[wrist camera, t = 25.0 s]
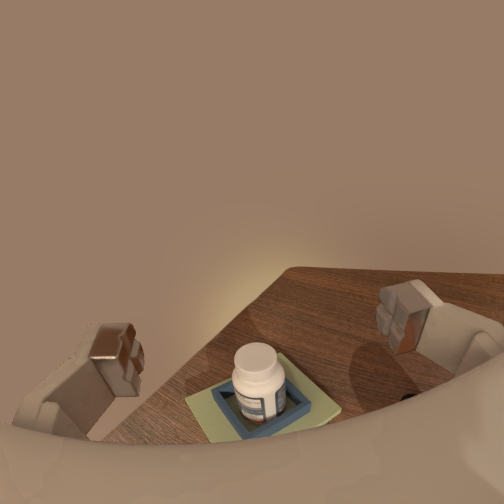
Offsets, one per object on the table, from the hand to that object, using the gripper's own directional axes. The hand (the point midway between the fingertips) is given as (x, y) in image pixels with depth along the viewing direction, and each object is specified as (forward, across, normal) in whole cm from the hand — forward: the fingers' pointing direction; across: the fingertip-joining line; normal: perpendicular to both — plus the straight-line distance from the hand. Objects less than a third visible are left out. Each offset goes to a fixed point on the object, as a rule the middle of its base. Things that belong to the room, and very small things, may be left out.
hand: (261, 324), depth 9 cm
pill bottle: (+12, -1, +23) cm, 26 cm away
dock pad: (+12, 0, +24) cm, 27 cm away
